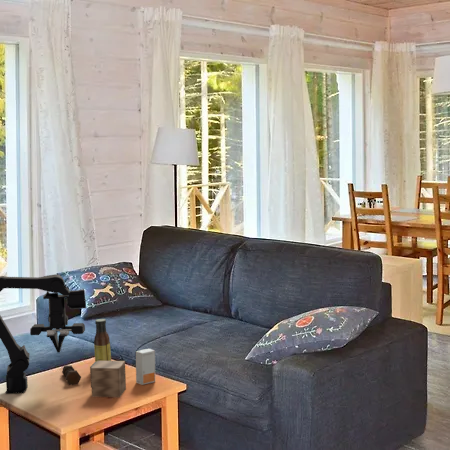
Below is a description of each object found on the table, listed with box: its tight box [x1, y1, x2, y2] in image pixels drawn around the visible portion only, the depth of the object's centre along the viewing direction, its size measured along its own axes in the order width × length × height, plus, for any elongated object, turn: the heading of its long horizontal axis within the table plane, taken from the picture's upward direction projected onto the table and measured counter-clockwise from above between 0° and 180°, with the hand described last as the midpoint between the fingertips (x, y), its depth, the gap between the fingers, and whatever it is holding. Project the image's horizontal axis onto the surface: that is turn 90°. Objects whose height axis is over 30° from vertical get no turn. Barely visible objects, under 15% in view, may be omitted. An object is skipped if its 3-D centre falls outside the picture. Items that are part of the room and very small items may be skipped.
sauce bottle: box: [93, 318, 112, 362], centre depth 287 cm, size 7×6×20 cm
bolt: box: [61, 364, 82, 386], centre depth 276 cm, size 6×5×15 cm
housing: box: [89, 360, 127, 398], centre depth 259 cm, size 11×9×10 cm
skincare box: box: [135, 348, 156, 386], centre depth 270 cm, size 6×4×12 cm
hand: (58, 352), depth 265 cm, fingers closed
